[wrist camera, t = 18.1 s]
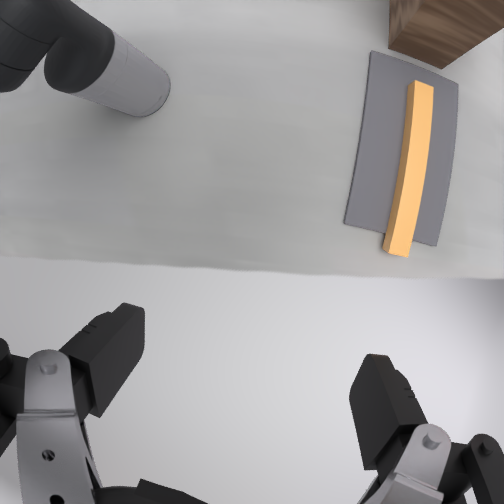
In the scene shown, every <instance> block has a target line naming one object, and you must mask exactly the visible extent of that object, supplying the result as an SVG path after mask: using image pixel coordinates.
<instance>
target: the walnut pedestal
mask: <svg viewBox="0 0 504 504" xmlns="http://www.w3.org/2000/svg"><path fill="white" fill-rule="evenodd" d="M502 28H504V0H390V20H389V47H388V49H391V50H394V51H397V52H400V53H402V54H405V55H408V56H411V57H413V58H416V59H418V60H421V61H423V62H426V63H428V64H430V65H433V66H435V67H437V68H440V69H443V68H444V67H446V66H447V65H449V64H450V63H451V62H453V61H454V60H456V59H457V58H459V57H460V56H462V55H463V54H465V53H466V52H468V51H469V50H471V49H472V48H473V47H475V46H476V45H478V44H479V43H481V42H482V41H484V40H486V39H487V38H489V37H490V36H492V35H493V34H495V33H496V32H498V31H499V30H501V29H502Z"/></svg>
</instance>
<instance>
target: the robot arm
mask: <svg viewBox="0 0 504 504" xmlns="http://www.w3.org/2000/svg"><path fill="white" fill-rule="evenodd" d="M46 53H47V55H46ZM45 55H46V59H45V64H44V75H45V79H46V81H47V83H48V84H49V85H50V86H51V87H52V88H54V89H56V90H58V91H61V92H65V93H68V94H71V95H75V96H78V97H81V98H84V99H87V100H90V101H93V102H96V103H99V104H102V105H105V106H108V107H110V108H113V109H116V110H119V111H121V112H124V113H127V114H129V115H132V116H136V117H143V116H147V115H150V114H152V113H154V112H155V111H156V110H158V109H159V108H160V107H161V106H162V105H163V103H164V102H165V101H166V99H167V97H168V94H169V91H170V80H169V77H168V75H167V73H166V72H165V71H164V70H163V69H161V68H160V67H159V66H158V65H157V64H155V63H154V62H153V61H152V60H151V59H149V58H148V57H147V56H145V55H144V54H143V53H142V52H140V51H139V50H138V49H137V48H135V47H134V46H133V45H131V44H130V43H129V42H127V41H126V40H125V39H123V38H122V37H121V36H119V35H118V34H116V33H115V32H114V31H112V30H111V29H110V28H108V27H107V26H105V25H104V24H102V23H101V22H100V21H98V20H97V19H95V18H94V17H92V16H91V15H89V14H88V13H87V12H85V11H84V10H82V9H81V8H79V7H78V6H77V5H76V4H74V3H73V2H72V1H70V0H0V93H2V92H10V91H13V90H15V89H17V88H18V87H19V86H20V85H21V84H22V83H23V82H24V81H25V80H26V79H27V78H28V76H29V75H30V74H31V72H32V71H33V70H34V69H35V67H36V66H37V65H38V63H39V62H40V61H41V60H42V58H43V57H44V56H45ZM144 332H145V311H144V309H143V308H142V307H138V306H135V305H131V304H128V303H122V304H121V305H120V306H119V307H118V308H117V309H115V310H114V311H113V312H112V313H111V312H106V313H103V314H101V315H98V316H96V317H95V318H94V319H93V320H91V321H90V322H89V323H88V325H86V326H85V327H84V328H83V329H82V330H81V331H79V332H78V333H77V334H76V335H75V336H74V337H73V338H71V339H70V340H69V341H68V342H67V343H66V344H65V345H64V346H63V347H62V348H61V349H59V351H56V350H41V351H38V352H36V353H34V354H33V355H31V356H30V357H29V358H25V357H20V356H16V355H12V354H11V353H10V350H9V347H8V344H7V342H6V341H5V340H4V339H2V338H0V457H1V455H2V454H3V452H4V451H5V450H6V448H7V447H8V445H9V444H10V443H11V441H12V440H13V438H14V437H15V436H16V435H17V457H18V470H19V478H20V487H21V493H22V500H23V504H208V503H205V502H203V501H201V500H199V499H197V498H194V497H192V496H190V495H188V494H186V493H184V492H182V491H178V490H175V489H171V488H168V487H164V486H161V485H158V484H155V483H152V482H149V481H146V480H143V479H140V481H139V484H138V486H137V487H127V486H111V487H104V488H103V486H102V483H101V480H100V478H99V475H98V472H97V470H96V466H95V462H94V459H93V455H92V451H91V447H90V443H89V438H88V434H87V430H86V425H85V421H84V419H85V418H86V416H87V415H88V413H90V414H92V415H94V416H96V417H99V418H100V417H101V416H102V414H103V413H104V411H105V410H106V408H107V407H108V406H109V404H110V402H111V401H112V400H113V398H114V397H115V395H116V393H117V392H118V391H119V389H120V388H121V386H122V385H123V383H124V382H125V381H126V379H127V377H128V376H129V375H130V373H131V372H132V370H133V369H134V367H135V366H136V365H137V363H138V362H139V360H140V358H141V356H142V354H143V350H144V342H145V340H144V338H145V333H144ZM349 401H350V406H351V410H352V415H353V419H354V423H355V428H356V432H357V437H358V442H359V446H360V451H361V456H362V461H363V466H364V470H377V472H378V475H377V476H376V478H375V479H374V480H373V481H372V483H371V484H370V486H369V488H368V489H367V490H366V492H365V493H364V495H363V496H362V498H361V499H360V500H359V502H358V503H357V504H467V503H466V499H465V496H464V493H465V492H467V491H468V490H469V489H470V488H471V487H473V491H474V494H475V497H476V500H477V503H478V504H504V454H503V452H502V450H501V448H500V446H499V444H498V442H497V441H496V440H495V439H494V438H492V437H490V436H489V435H486V434H477V435H475V436H474V437H473V438H472V439H471V441H470V442H469V443H468V444H460V443H454V442H451V440H450V437H449V436H448V434H447V433H446V432H445V431H444V430H443V429H442V428H440V427H438V426H436V425H433V424H428V422H427V420H426V418H425V415H424V413H423V411H422V409H421V407H420V405H419V403H418V401H417V399H416V398H415V394H414V392H413V390H411V386H410V384H409V382H408V380H407V379H406V378H405V377H404V376H403V375H402V374H401V373H400V372H399V371H398V370H395V368H394V366H393V364H392V362H391V360H390V358H389V357H388V356H386V355H377V354H367V355H366V357H365V358H364V360H363V363H362V365H361V367H360V369H359V371H358V374H357V376H356V378H355V380H354V382H353V384H352V386H351V390H350V395H349Z"/></svg>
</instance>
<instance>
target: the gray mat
mask: <svg viewBox="0 0 504 504" xmlns="http://www.w3.org/2000/svg"><path fill="white" fill-rule="evenodd" d="M414 80H417V81H419V82H422V83H424V84H427V85H429V86H432V87H434V90H433V109H432V123H431V134H430V143H429V151H428V159H427V166H426V173H425V179H424V185H423V191H422V196H421V202H420V207H419V212H418V216H417V221H416V226H415V230H414V234H413V238H412V240H413V241H417V242H421V243H425V244H429V245H432V246H436V245H437V242H438V238H439V233H440V229H441V225H442V221H443V216H444V211H445V206H446V201H447V196H448V191H449V185H450V179H451V172H452V165H453V157H454V149H455V140H456V128H457V113H458V84H457V83H455V82H453V81H451V80H449V79H446V78H444V77H442V76H440V75H438V74H435V73H433V72H431V71H428V70H426V69H423V68H421V67H418V66H416V65H413V64H411V63H408V62H405V61H403V60H400V59H397V58H394V57H391V56H388V55H385V54H382V53H379V52H376V51H371V52H370V60H369V70H368V80H367V88H366V97H365V104H364V112H363V119H362V126H361V132H360V139H359V145H358V151H357V157H356V162H355V168H354V173H353V179H352V184H351V189H350V194H349V199H348V204H347V209H346V213H345V218H344V222H343V223H344V224H348V225H352V226H357V227H361V228H365V229H369V230H374V231H378V232H382V233H386V231H387V227H388V222H389V218H390V213H391V208H392V203H393V198H394V193H395V187H396V182H397V176H398V170H399V163H400V157H401V150H402V142H403V134H404V126H405V116H406V105H407V92H408V85H409V84H410V83H412V82H413V81H414Z"/></svg>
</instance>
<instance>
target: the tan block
mask: <svg viewBox="0 0 504 504" xmlns="http://www.w3.org/2000/svg"><path fill="white" fill-rule="evenodd" d="M433 90H434V87H432V86H429V85H427V84H424V83H422V82H419V81H417V80H414V81H413V82H412V83H410V84H409V85H408V92H407V105H406V116H405V126H404V134H403V142H402V150H401V157H400V163H399V170H398V176H397V182H396V187H395V193H394V198H393V203H392V208H391V213H390V218H389V222H388V227H387V231H386V235H385V240H384V244H383V248H382V249H384V250H385V251H386V252H388V253H390V254H394V255H399V256H403V257H408V254H409V250H410V247H411V243H412V238H413V234H414V230H415V226H416V221H417V216H418V212H419V207H420V202H421V196H422V191H423V185H424V179H425V173H426V166H427V159H428V151H429V143H430V134H431V123H432V109H433Z"/></svg>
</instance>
